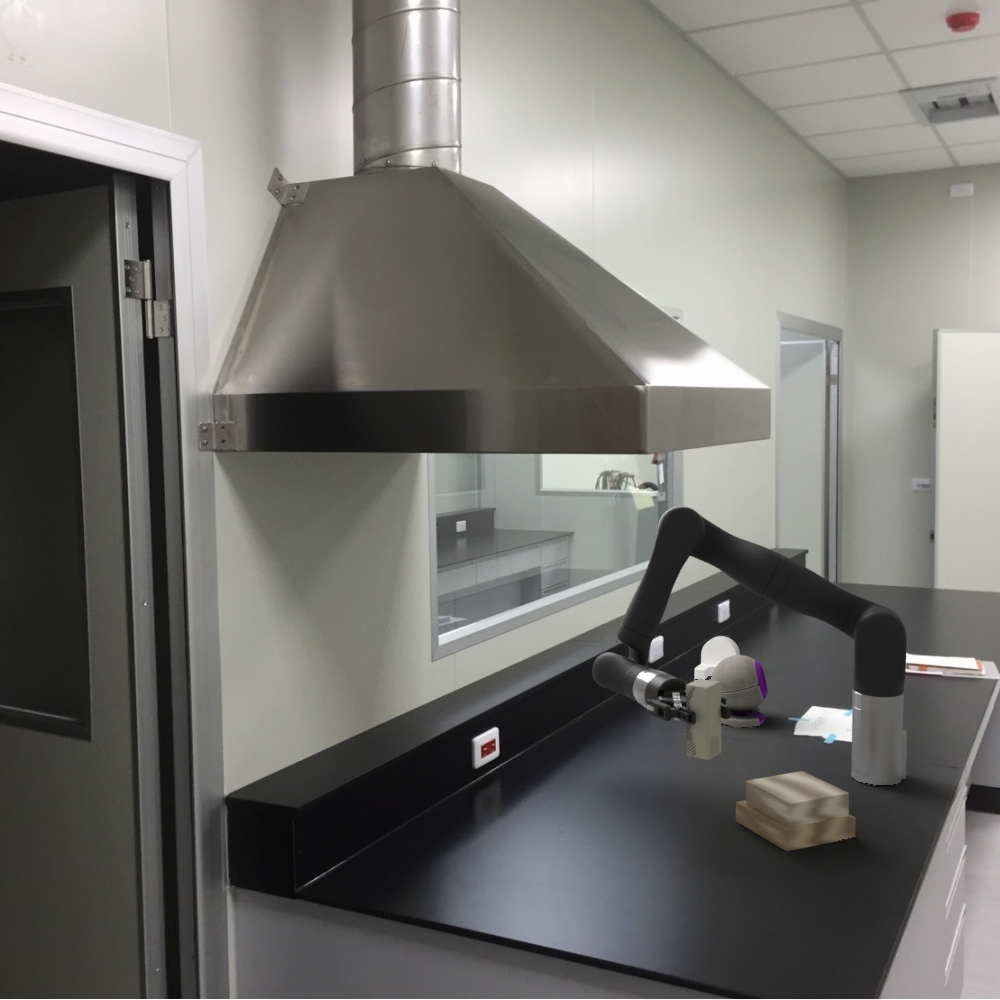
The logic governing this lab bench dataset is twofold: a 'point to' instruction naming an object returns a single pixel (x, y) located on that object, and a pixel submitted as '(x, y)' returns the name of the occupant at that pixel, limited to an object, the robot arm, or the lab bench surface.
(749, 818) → the bottom slab
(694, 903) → the lab bench surface
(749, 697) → the shader ball
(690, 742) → the box
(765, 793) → the top slab
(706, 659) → the tape dispenser
